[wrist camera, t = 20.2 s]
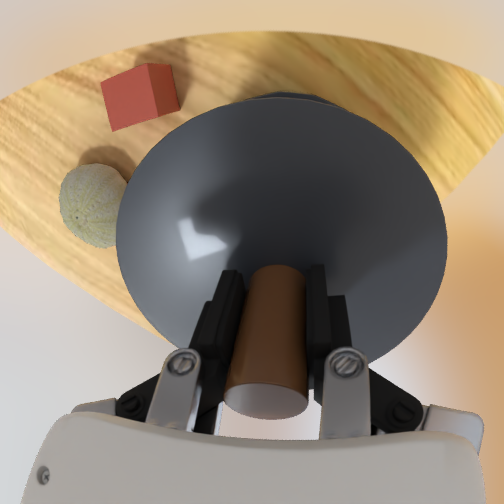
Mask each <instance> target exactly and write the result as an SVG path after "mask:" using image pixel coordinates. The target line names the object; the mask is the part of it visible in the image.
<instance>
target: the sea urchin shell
mask: <svg viewBox="0 0 504 504" xmlns="http://www.w3.org/2000/svg"><path fill="white" fill-rule="evenodd" d="M126 186H127V182H126V181H125V180H124V178H123V177H122V176H121V175H120V173H119V172H118V171H117V170H115V169H114V168H112V167H111V166H108V165H103V164H99V163H98V164H97V163H95V164H87V165H81V166H79V167H77V168H75V169H73V170H71V171H70V172H69V173H67V175H66V177H65V178H64V180H63V182H62V183H61V190H60V194H59V195H60V196H59V202H60V212H61V215H62V217H63V222H64V223H65V225H66V226H67V228H69V229H70V230H71V231H72V233H74V234H75V236H77V237H79V238H80V239H82V240H83V241H85V242H86V243H89V244H91V245H93V246H95V247H99V248H108V247H111V246H114V245H116V222H117V216H118V211H119V206H120V203H121V200H122V197H123V194H124V191H125V188H126Z"/></svg>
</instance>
